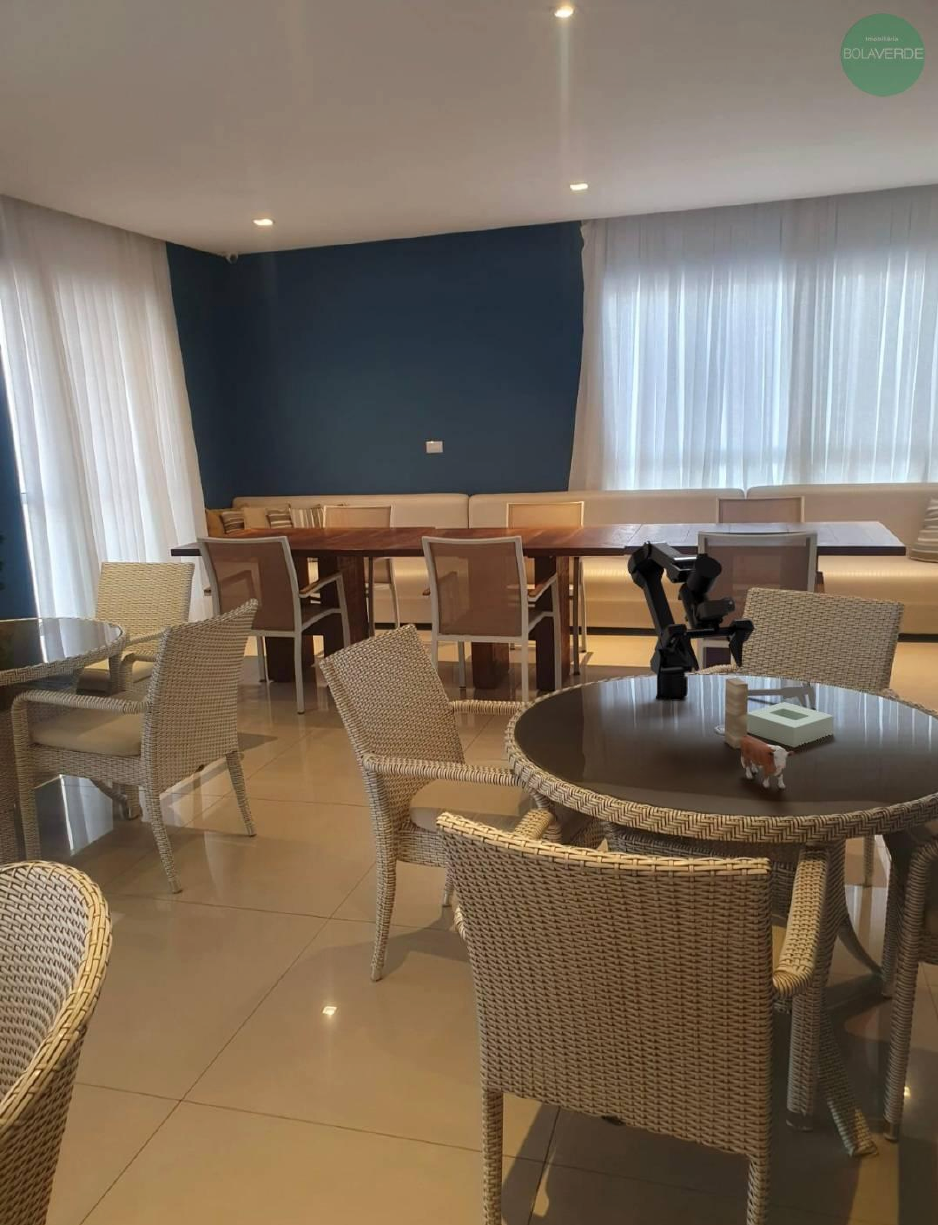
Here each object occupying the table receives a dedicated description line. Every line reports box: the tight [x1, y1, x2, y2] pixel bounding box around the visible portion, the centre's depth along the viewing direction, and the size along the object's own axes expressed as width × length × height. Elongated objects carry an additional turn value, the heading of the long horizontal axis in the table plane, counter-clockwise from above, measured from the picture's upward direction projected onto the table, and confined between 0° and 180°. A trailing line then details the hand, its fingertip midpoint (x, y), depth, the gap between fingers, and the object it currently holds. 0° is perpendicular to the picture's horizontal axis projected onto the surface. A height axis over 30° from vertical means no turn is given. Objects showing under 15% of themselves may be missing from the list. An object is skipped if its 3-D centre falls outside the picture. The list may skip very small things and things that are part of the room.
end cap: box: [747, 701, 835, 748], centre depth 178 cm, size 12×12×4 cm
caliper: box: [748, 680, 816, 709], centre depth 199 cm, size 20×1×6 cm, turn 49°
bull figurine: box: [740, 734, 795, 790], centre depth 153 cm, size 4×13×8 cm, turn 14°
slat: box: [724, 677, 749, 749], centre depth 172 cm, size 2×4×13 cm, turn 9°
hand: (719, 668), depth 179 cm, fingers open, 9 cm apart
